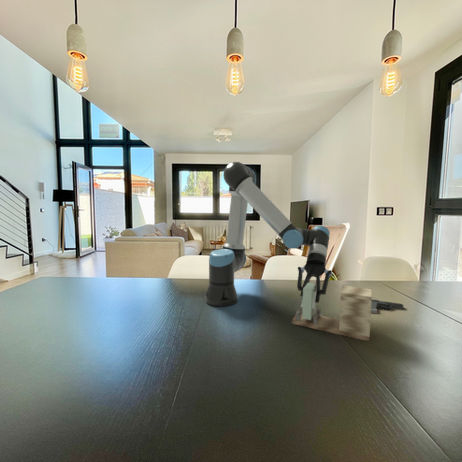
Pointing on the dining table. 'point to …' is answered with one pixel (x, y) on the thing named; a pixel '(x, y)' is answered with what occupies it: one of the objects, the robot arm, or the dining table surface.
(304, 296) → the pale green block
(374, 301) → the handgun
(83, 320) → the dining table surface
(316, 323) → the wooden rack
